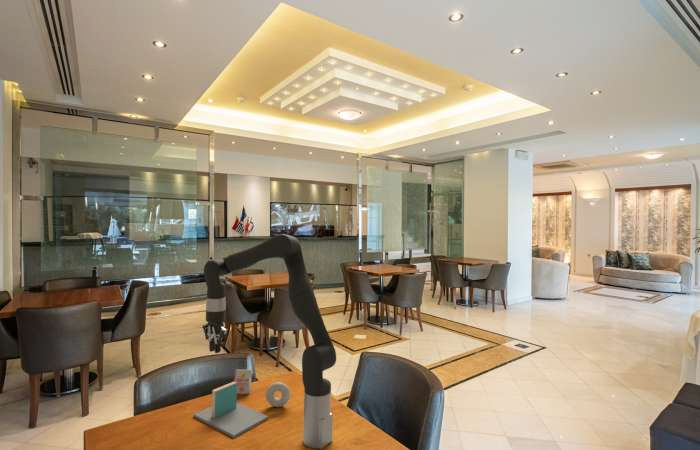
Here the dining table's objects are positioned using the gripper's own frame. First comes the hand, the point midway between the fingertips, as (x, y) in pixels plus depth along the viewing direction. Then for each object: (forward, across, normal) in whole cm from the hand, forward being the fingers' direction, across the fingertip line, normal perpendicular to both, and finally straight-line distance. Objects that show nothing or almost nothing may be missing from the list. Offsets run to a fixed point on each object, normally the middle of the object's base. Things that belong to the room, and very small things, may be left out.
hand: (214, 351), depth 147 cm
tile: (+17, -7, 0) cm, 18 cm away
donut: (+23, -19, -17) cm, 35 cm away
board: (+23, -11, 0) cm, 26 cm away
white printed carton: (+23, +3, -17) cm, 29 cm away
